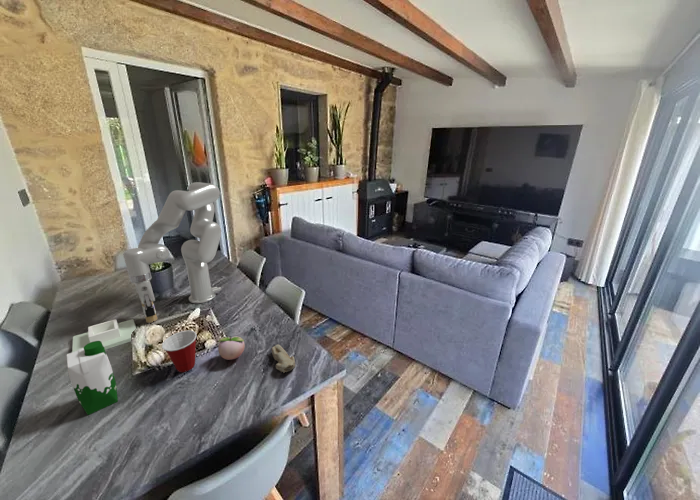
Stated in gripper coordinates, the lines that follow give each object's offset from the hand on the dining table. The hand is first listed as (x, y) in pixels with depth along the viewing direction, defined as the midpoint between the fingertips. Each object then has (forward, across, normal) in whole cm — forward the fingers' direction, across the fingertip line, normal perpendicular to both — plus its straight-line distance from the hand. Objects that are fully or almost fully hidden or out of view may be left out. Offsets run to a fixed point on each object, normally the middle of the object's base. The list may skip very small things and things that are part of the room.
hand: (150, 313), depth 129 cm
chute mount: (+4, -4, +16) cm, 17 cm away
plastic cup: (+4, -42, -4) cm, 42 cm away
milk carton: (+4, -42, +19) cm, 46 cm away
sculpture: (+4, -63, -32) cm, 70 cm away
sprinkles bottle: (+4, 0, 0) cm, 4 cm away
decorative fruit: (+4, -49, -19) cm, 53 cm away
